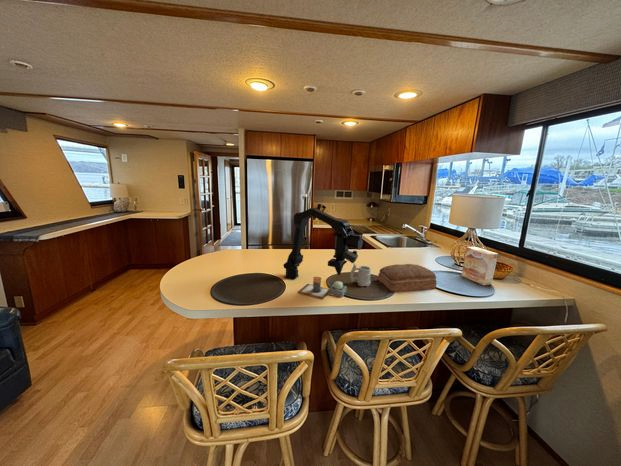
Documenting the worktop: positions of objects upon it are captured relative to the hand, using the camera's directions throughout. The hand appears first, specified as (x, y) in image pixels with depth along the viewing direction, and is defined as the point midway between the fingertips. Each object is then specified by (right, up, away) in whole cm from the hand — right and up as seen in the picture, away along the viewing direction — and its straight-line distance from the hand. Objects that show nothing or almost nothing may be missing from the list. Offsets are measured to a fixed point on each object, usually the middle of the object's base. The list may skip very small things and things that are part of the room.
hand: (338, 274), depth 124 cm
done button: (0, -8, +2) cm, 9 cm away
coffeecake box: (+88, -8, +27) cm, 93 cm away
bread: (+41, -9, +16) cm, 45 cm away
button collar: (0, -10, +2) cm, 10 cm away
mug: (+13, -8, +14) cm, 21 cm away
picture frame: (-12, -9, +2) cm, 16 cm away
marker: (-11, -9, +2) cm, 14 cm away
